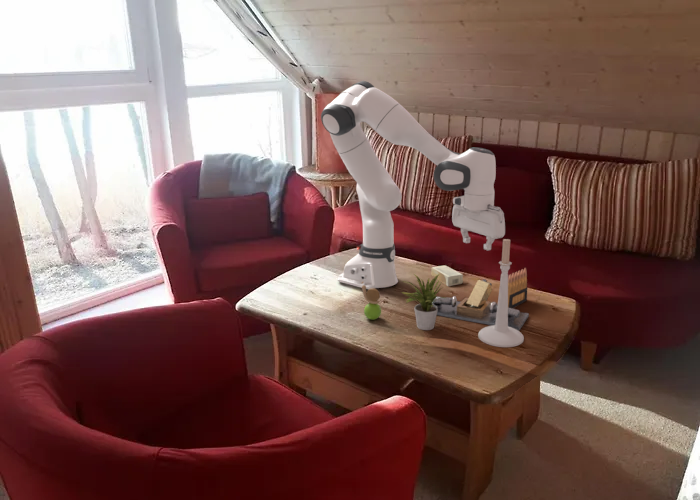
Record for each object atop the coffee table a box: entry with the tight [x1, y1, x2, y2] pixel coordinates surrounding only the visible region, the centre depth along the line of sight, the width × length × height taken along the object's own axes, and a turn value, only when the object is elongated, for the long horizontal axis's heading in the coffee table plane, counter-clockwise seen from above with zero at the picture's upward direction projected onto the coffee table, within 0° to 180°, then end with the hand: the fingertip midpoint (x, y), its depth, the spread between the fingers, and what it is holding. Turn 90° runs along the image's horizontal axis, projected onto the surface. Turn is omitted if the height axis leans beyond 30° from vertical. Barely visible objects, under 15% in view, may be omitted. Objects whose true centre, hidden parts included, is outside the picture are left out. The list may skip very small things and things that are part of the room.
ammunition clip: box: [508, 267, 528, 309], centre depth 190 cm, size 11×2×12 cm, turn 133°
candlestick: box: [477, 238, 525, 348], centre depth 164 cm, size 13×13×30 cm
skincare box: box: [430, 264, 464, 287], centre depth 214 cm, size 6×4×12 cm
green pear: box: [361, 282, 382, 321], centre depth 181 cm, size 5×6×12 cm
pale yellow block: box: [466, 278, 493, 309], centre depth 185 cm, size 4×4×10 cm
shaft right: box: [489, 301, 521, 322], centre depth 179 cm, size 9×4×4 cm, turn 49°
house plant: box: [399, 273, 447, 331], centre depth 176 cm, size 14×14×16 cm
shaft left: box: [433, 295, 458, 309], centre depth 187 cm, size 9×4×4 cm, turn 73°
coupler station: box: [436, 297, 529, 331], centre depth 185 cm, size 32×12×4 cm, turn 61°
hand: (476, 246), depth 179 cm, fingers open, 8 cm apart
